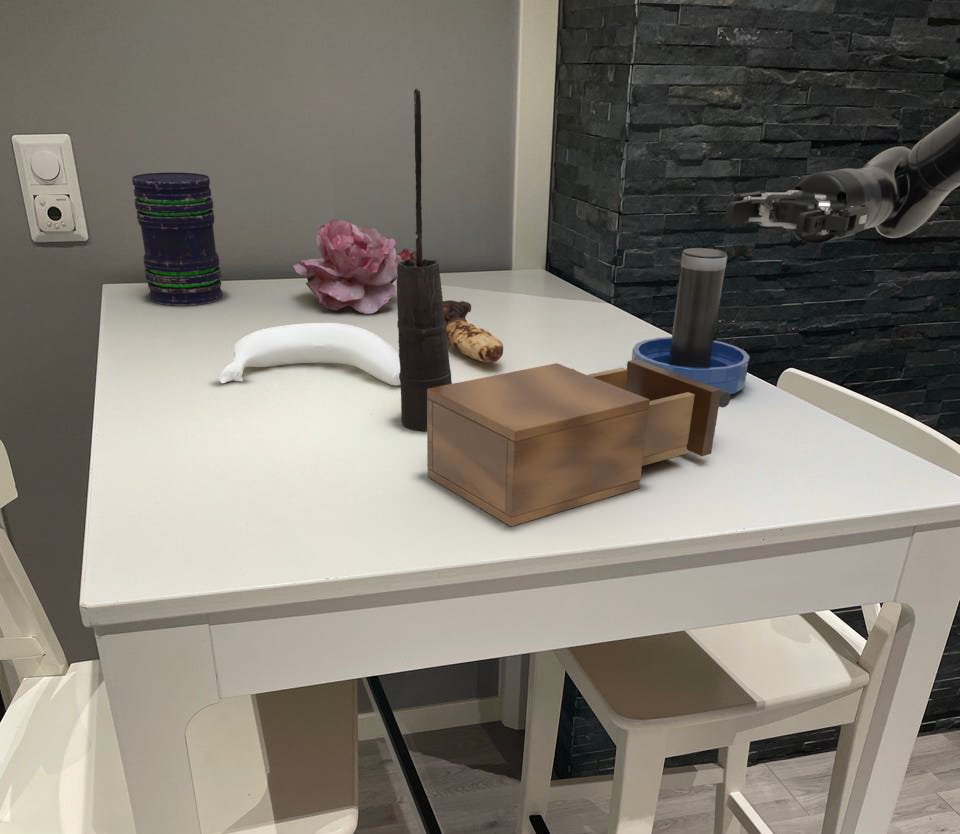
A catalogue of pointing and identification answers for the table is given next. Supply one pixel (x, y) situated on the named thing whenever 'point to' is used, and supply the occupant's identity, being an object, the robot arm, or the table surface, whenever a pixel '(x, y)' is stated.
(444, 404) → the cabinet
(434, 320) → the butter churn
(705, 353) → the pepper mill
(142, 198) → the storage jar
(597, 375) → the drawer
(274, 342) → the banana
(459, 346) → the tan mottled elongated piece
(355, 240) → the flower
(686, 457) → the table surface
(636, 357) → the bowl
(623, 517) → the table surface
